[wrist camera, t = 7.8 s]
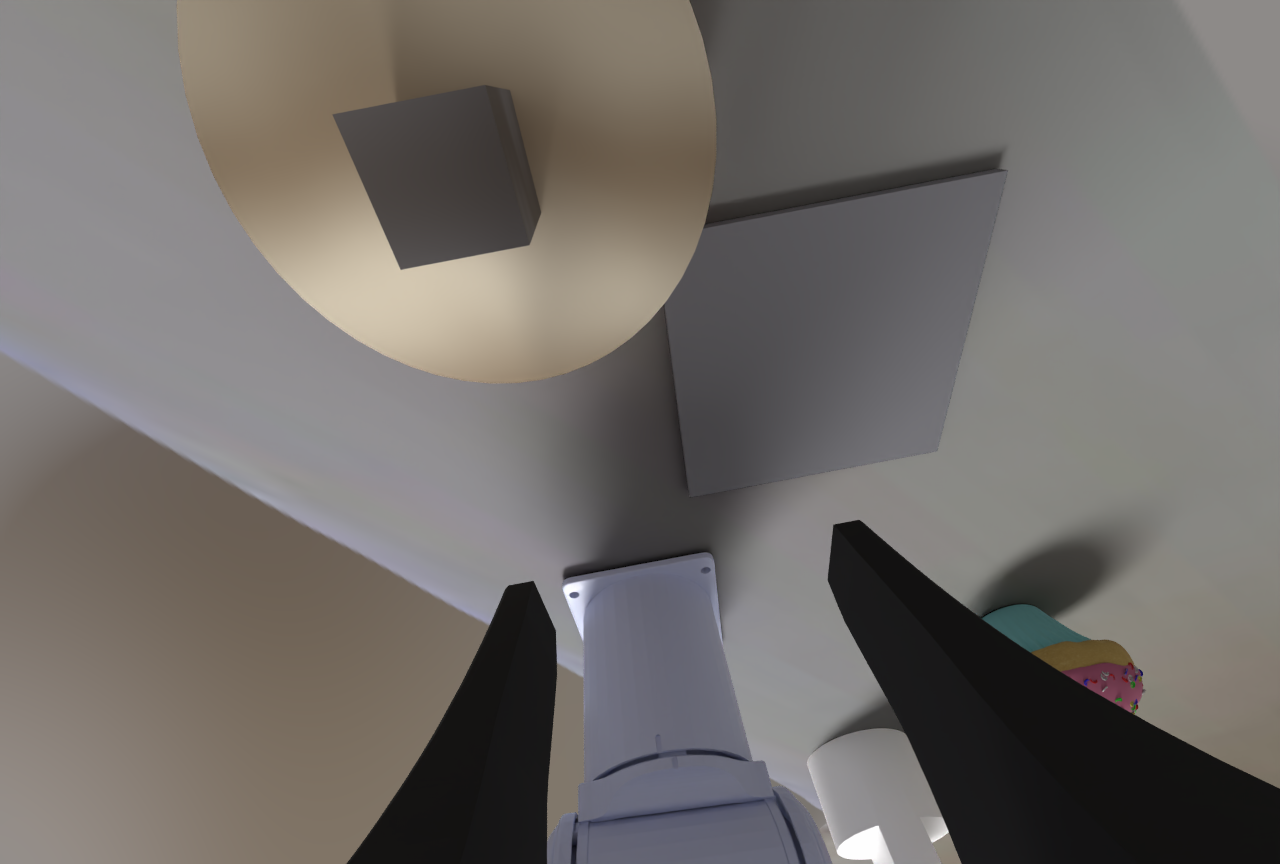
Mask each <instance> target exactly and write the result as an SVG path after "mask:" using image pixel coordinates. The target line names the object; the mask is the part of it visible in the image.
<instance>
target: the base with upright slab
mask: <svg viewBox="0 0 1280 864" xmlns="http://www.w3.org/2000/svg"><path fill="white" fill-rule="evenodd" d="M807 766H808V768H809V771H810V774H811V777H812V780H813V783H814V786H815V789H816V792H817V795H818V798H819V801H820V803H821V806H822V809H823V812H824V815H825V818H826V821H827V824H828V827H829V830H830V833H831V836H832V838H833V841H834V844H835V847H836V850H837V853H838V855H840V856H841V857H843V858H848V859H860V860H864V859H872V861H873V863H874V864H942V863H941V861H940V859H939V857H938V855H937V852H936V850H935V848H934V846H933V844H932V842H934V841H936V840H938V839H940V838H941V837H943V836H944V835H946V834H947V833H948V832H949V831H948V829H947V827H946V824H945V822H944V819H943V817H942V815H941V812H940V810H939V808H938V805H937V803H936V801H935V798H934V796H933V794H932V791H931V789H930V787H929V784H928V782H927V780H926V778H925V775H924V773H923V771H922V769H921V766H920V764H919V762H918V760H917V757H916V755H915V753H914V751H913V748H912V746H911V744H910V742H909V739H908V737H907V735H906V734H905V733H903V732H901V731H899V730H895V729H888V728H878V729H868V730H861V731H857V732H853V733H850V734H846V735H843V736H841V737H838V738H836V739H833V740H831V741H829V742H827V743H826V744H824V745H822V746H821V747H819V748H818V749H817V750H815V751H814V752H813V753H812V754H811V756H810V757H809V758H808V762H807Z"/></svg>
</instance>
